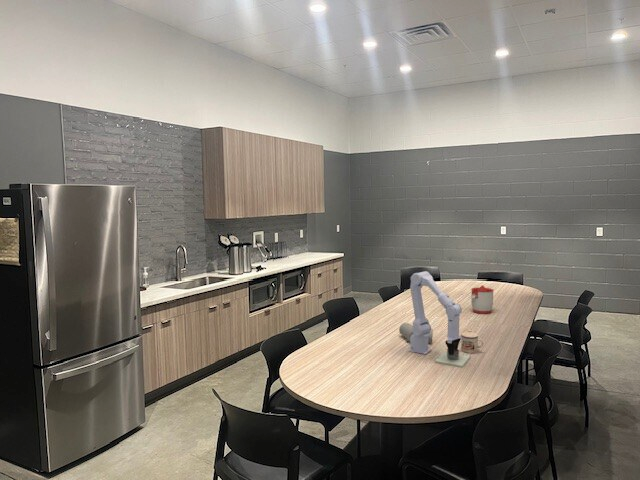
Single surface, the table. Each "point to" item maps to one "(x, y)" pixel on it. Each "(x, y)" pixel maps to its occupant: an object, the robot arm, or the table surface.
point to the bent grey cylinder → (407, 332)
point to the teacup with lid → (470, 342)
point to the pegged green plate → (452, 360)
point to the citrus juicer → (482, 300)
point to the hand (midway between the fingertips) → (453, 353)
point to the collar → (456, 354)
